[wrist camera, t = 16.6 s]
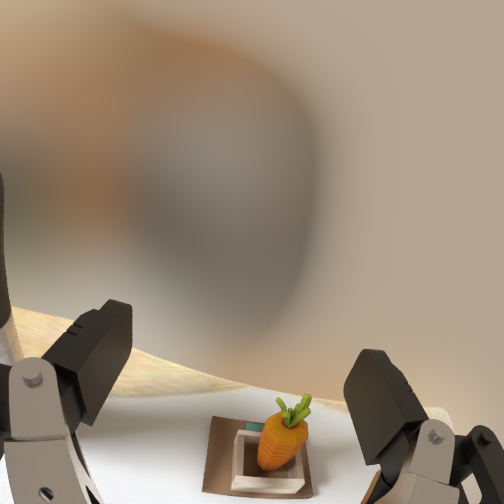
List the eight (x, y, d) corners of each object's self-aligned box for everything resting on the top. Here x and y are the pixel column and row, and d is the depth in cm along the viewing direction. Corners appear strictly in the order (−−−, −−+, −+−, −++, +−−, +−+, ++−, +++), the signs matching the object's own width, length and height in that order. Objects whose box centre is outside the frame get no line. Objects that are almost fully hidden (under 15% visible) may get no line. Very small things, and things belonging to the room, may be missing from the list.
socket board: (201, 491, 24) (205, 479, 23) (211, 420, 37) (215, 402, 35) (309, 498, 25) (323, 485, 24) (300, 430, 37) (310, 413, 36)
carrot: (252, 486, 25) (287, 423, 21) (241, 457, 30) (269, 386, 26) (288, 479, 27) (333, 414, 23) (275, 452, 31) (312, 382, 27)
